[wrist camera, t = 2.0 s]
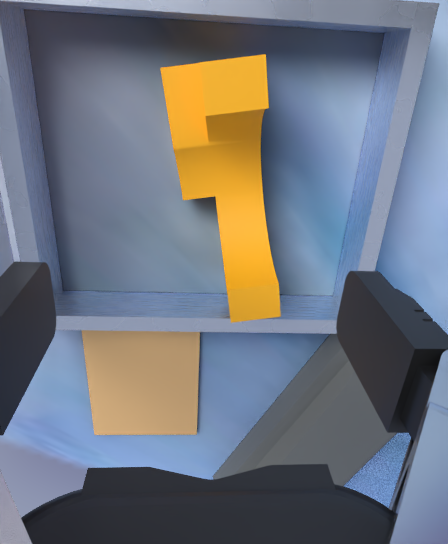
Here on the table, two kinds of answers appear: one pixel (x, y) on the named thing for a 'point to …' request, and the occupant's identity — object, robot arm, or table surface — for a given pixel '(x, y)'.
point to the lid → (4, 242)
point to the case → (231, 9)
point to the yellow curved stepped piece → (227, 168)
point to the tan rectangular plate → (143, 381)
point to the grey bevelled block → (315, 422)
